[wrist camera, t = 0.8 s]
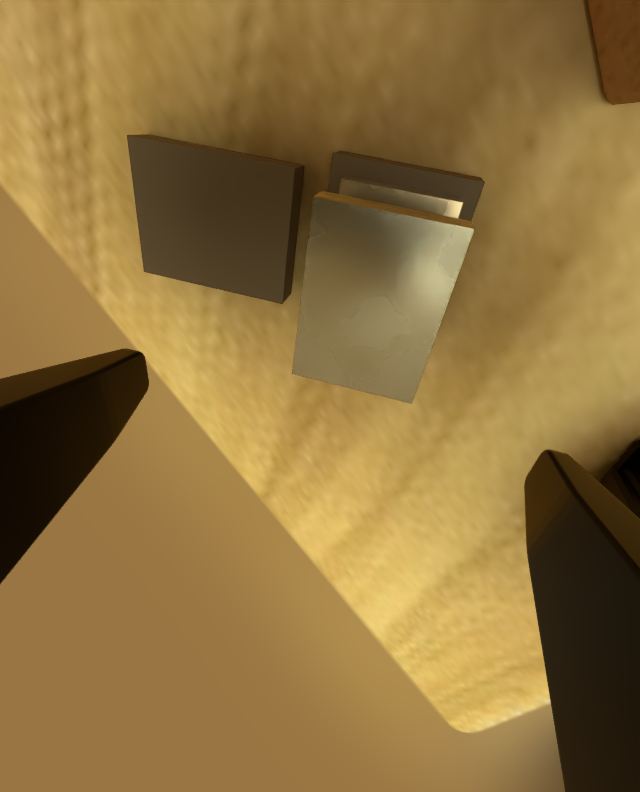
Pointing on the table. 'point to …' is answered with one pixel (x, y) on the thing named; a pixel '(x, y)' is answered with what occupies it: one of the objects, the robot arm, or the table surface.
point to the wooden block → (618, 47)
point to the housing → (377, 285)
